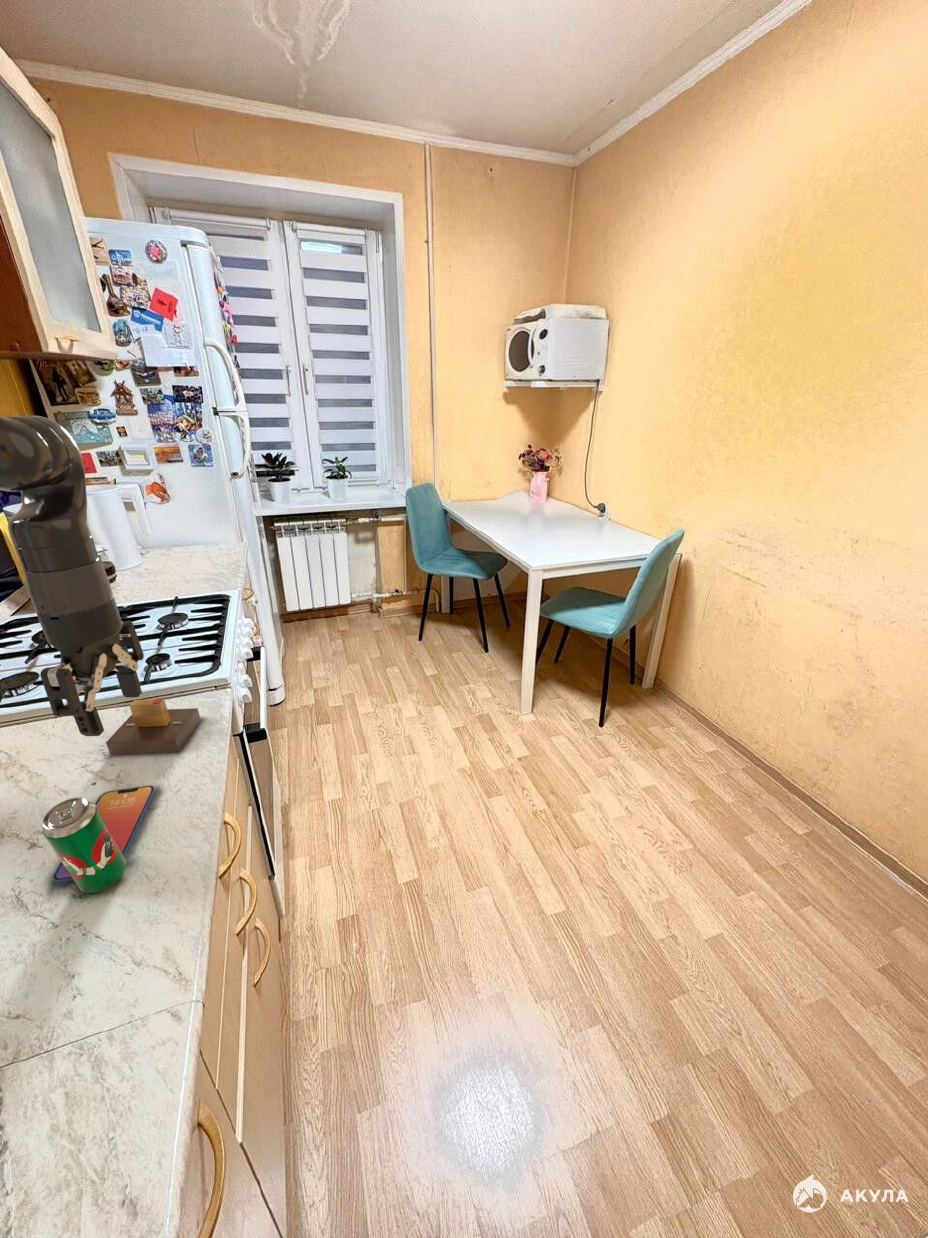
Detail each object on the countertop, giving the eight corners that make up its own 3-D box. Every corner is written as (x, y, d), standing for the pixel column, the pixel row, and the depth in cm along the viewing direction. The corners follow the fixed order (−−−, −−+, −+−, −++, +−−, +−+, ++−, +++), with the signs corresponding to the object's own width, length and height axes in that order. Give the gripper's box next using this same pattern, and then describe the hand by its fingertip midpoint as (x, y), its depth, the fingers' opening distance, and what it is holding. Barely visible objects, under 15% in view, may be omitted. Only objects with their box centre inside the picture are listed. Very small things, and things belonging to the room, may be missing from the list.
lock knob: (136, 727, 85) (128, 704, 83) (141, 722, 86) (133, 698, 84) (166, 726, 85) (159, 703, 83) (171, 720, 87) (164, 697, 85)
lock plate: (111, 757, 83) (105, 741, 81) (139, 724, 91) (134, 709, 90) (179, 753, 83) (174, 738, 82) (201, 721, 91) (197, 707, 90)
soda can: (123, 849, 65) (90, 787, 59) (131, 878, 62) (96, 816, 55) (77, 872, 62) (36, 809, 56) (82, 904, 59) (39, 841, 53)
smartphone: (51, 888, 61) (48, 882, 60) (103, 797, 74) (101, 792, 74) (118, 876, 62) (116, 871, 62) (158, 789, 75) (156, 784, 75)
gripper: (82, 579, 65) (117, 685, 71) (-9, 625, 52) (45, 750, 58) (140, 578, 65) (171, 684, 72) (65, 624, 52) (111, 748, 59)
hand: (114, 714), depth 65 cm, fingers open, 8 cm apart
